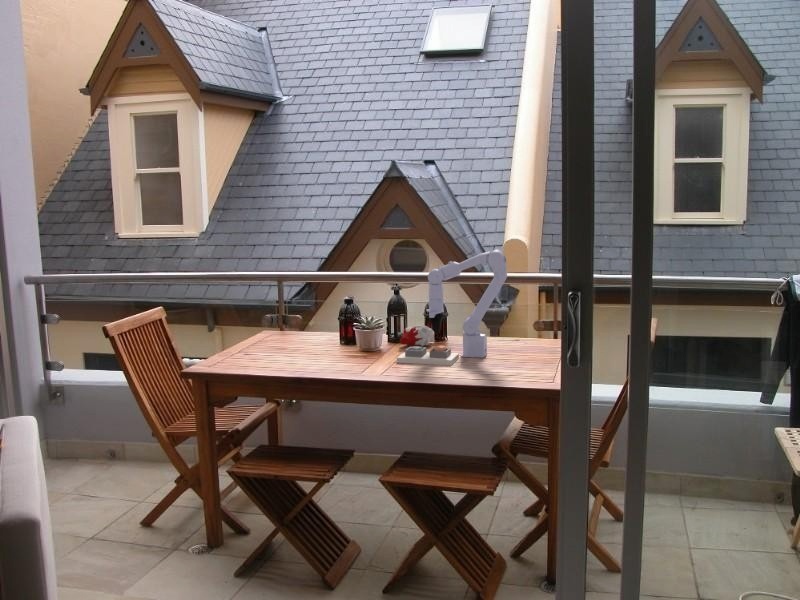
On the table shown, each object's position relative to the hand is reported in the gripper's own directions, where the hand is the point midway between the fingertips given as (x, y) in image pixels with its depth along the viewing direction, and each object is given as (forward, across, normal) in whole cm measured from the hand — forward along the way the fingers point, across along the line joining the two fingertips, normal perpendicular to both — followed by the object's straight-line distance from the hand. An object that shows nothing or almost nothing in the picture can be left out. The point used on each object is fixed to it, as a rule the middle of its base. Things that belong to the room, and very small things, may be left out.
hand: (436, 332), depth 323 cm
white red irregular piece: (+10, -14, -14) cm, 22 cm away
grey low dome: (+7, +10, -6) cm, 14 cm away
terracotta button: (+6, +10, +4) cm, 12 cm away
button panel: (+9, +10, -1) cm, 14 cm away
